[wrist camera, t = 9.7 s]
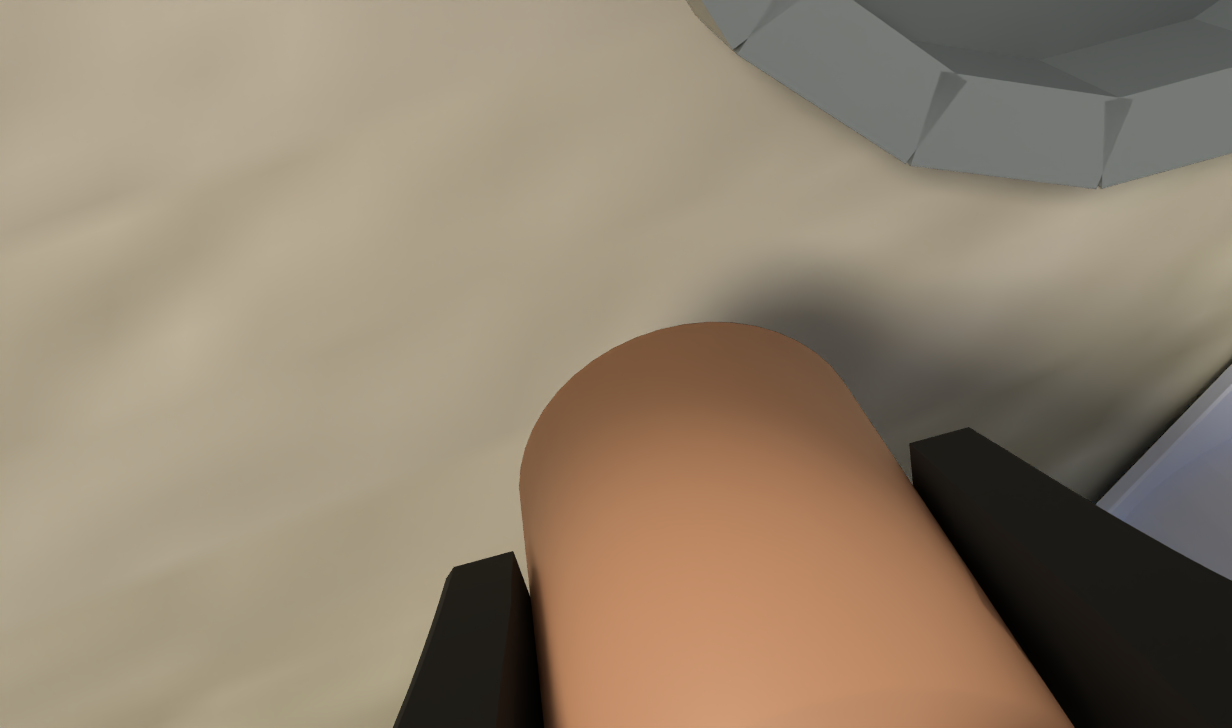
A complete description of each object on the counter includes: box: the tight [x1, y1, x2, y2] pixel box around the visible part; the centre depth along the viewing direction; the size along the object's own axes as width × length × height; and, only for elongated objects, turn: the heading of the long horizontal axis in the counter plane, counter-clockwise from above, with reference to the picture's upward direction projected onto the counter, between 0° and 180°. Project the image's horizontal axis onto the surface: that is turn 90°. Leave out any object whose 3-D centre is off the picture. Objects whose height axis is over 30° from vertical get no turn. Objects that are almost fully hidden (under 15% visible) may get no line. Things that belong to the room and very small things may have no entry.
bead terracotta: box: [519, 322, 1075, 728], centre depth 9 cm, size 4×4×5 cm
